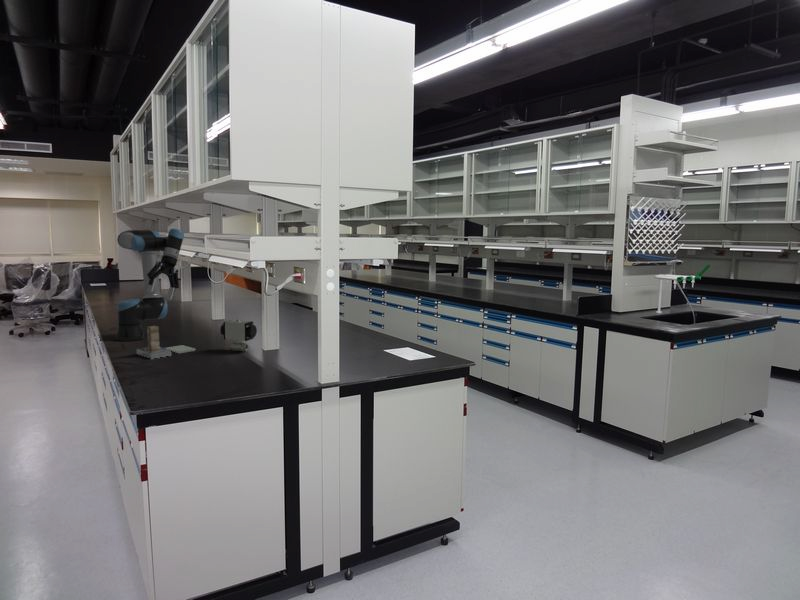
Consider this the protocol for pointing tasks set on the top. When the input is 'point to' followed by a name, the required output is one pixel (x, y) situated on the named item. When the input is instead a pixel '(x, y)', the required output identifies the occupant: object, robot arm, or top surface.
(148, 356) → the socket block
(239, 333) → the bench grinder
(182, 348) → the pad
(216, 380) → the top surface
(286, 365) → the top surface
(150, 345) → the peg
